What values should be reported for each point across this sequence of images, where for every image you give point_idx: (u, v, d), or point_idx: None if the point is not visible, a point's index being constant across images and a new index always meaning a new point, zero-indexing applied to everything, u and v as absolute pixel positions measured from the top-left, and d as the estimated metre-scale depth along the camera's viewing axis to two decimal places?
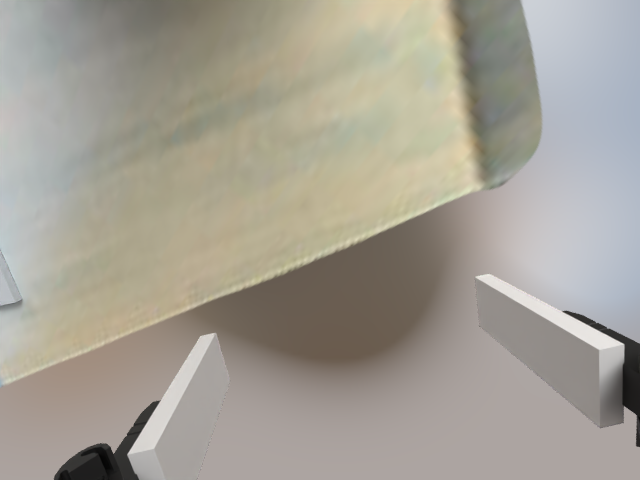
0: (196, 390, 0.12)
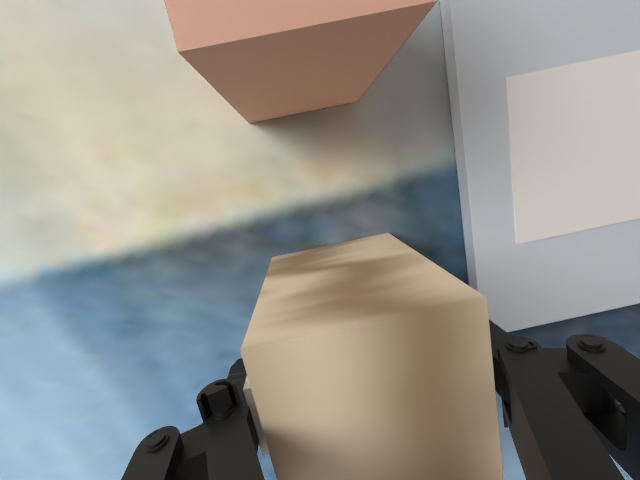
0: None
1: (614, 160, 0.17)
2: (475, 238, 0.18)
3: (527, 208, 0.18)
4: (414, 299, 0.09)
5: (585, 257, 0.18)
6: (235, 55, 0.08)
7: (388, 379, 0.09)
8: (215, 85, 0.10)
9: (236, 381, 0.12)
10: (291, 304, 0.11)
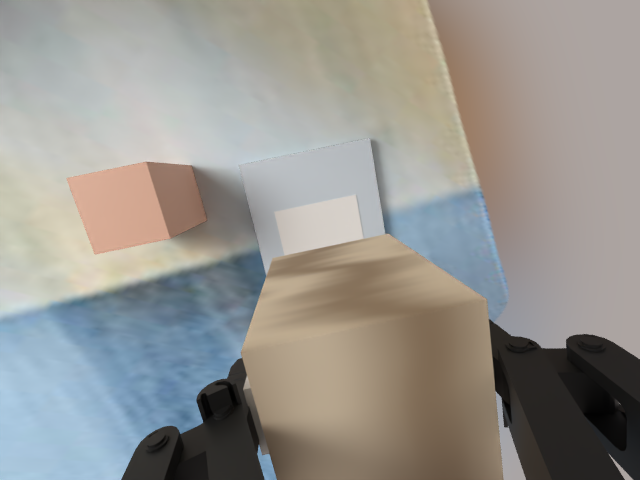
0: None
1: None
2: None
3: None
4: (414, 301, 0.09)
5: None
6: None
7: (389, 380, 0.09)
8: None
9: (236, 381, 0.12)
10: (291, 306, 0.11)
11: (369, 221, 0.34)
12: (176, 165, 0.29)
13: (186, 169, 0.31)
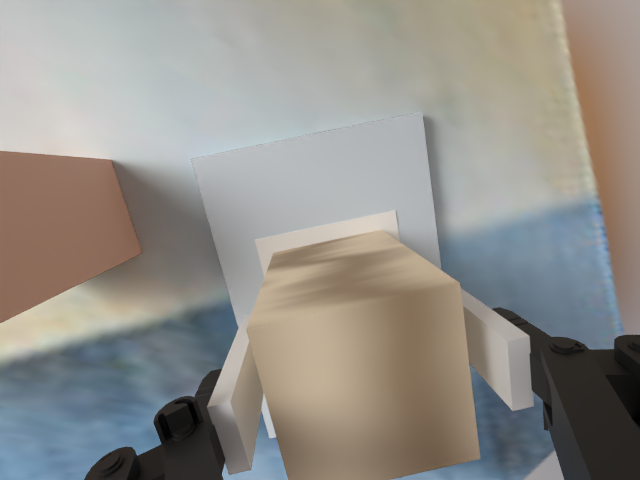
0: (250, 360, 0.13)
1: None
2: None
3: None
4: (398, 285, 0.11)
5: None
6: None
7: (375, 355, 0.10)
8: None
9: (205, 396, 0.12)
10: (291, 292, 0.12)
11: None
12: (59, 157, 0.15)
13: (93, 166, 0.17)
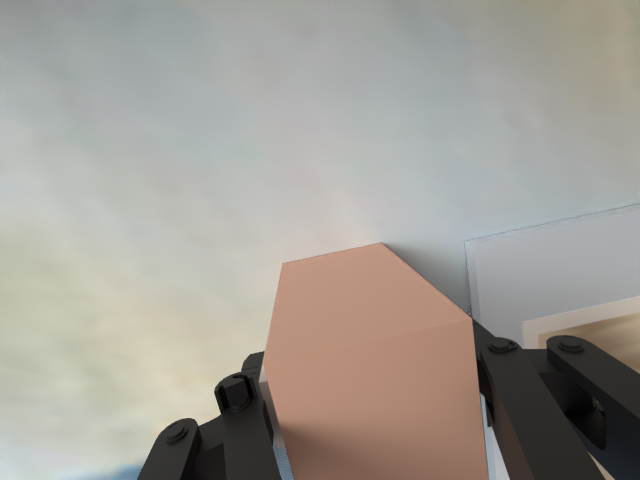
0: None
1: None
2: (495, 439, 0.21)
3: None
4: None
5: None
6: None
7: None
8: None
9: None
10: None
11: None
12: None
13: None
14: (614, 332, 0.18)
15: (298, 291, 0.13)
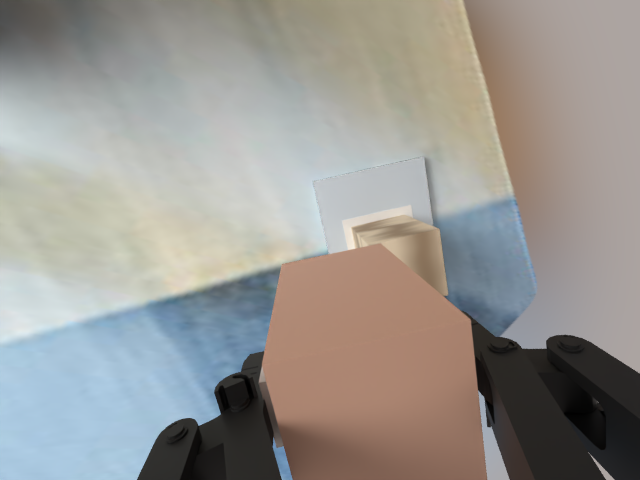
0: None
1: None
2: None
3: None
4: (418, 231, 0.31)
5: None
6: None
7: (411, 254, 0.30)
8: None
9: None
10: (376, 237, 0.32)
11: None
12: None
13: None
14: (380, 222, 0.38)
15: (298, 292, 0.13)
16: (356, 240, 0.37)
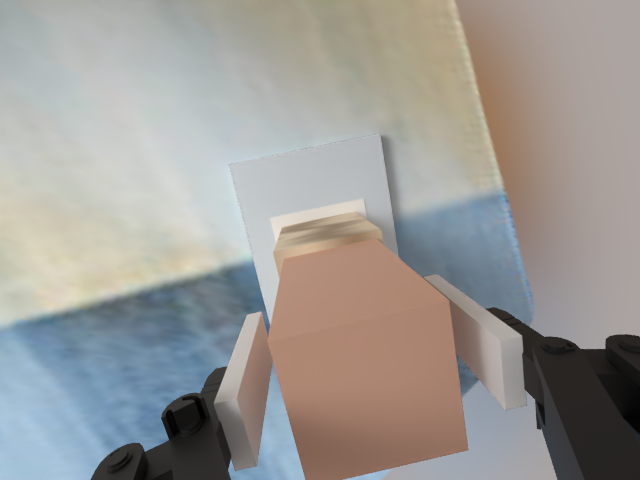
0: (254, 358, 0.13)
1: None
2: (266, 302, 0.31)
3: None
4: (351, 233, 0.21)
5: None
6: None
7: None
8: None
9: (210, 393, 0.12)
10: (294, 240, 0.22)
11: None
12: None
13: None
14: (320, 220, 0.28)
15: (298, 282, 0.15)
16: None
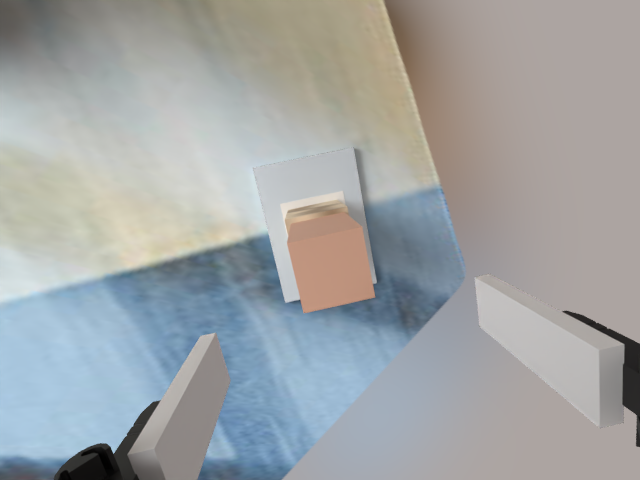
0: (196, 390, 0.12)
1: None
2: (276, 262, 0.45)
3: None
4: (330, 209, 0.35)
5: None
6: None
7: None
8: None
9: (138, 434, 0.10)
10: (297, 214, 0.36)
11: (354, 211, 0.44)
12: (350, 218, 0.30)
13: None
14: (313, 205, 0.42)
15: (299, 229, 0.29)
16: None
